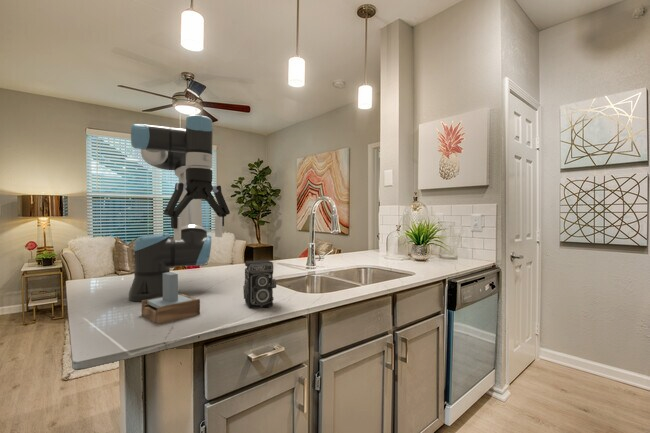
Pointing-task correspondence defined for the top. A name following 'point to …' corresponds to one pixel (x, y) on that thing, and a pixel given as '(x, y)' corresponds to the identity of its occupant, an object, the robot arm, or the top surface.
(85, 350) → the top surface
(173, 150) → the robot arm
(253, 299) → the camera
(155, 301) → the lid plate
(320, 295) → the top surface
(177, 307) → the walnut box
